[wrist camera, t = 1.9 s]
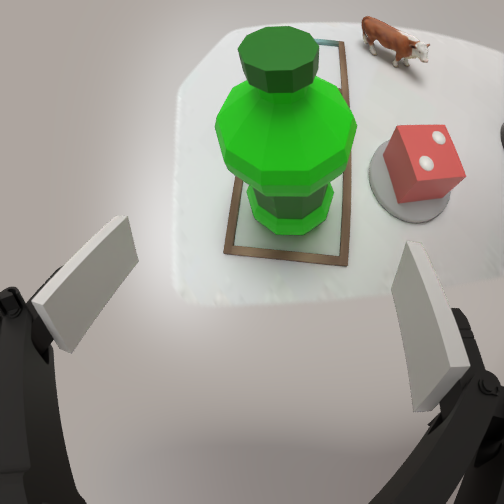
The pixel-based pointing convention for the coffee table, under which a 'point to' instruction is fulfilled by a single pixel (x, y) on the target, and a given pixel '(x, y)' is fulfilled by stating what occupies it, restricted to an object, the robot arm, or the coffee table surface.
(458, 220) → the coffee table surface
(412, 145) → the red die stand
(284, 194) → the plastic bottle
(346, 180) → the walnut frame
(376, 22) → the bull figurine
